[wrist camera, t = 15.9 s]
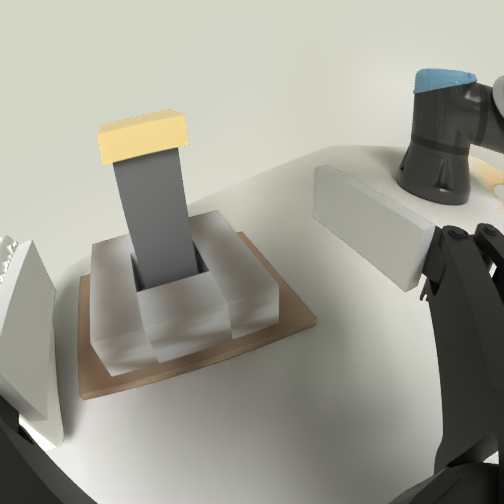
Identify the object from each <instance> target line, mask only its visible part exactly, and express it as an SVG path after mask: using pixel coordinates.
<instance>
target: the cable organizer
mask: <svg viewBox="0 0 504 504" xmlns="http://www.w3.org/2000/svg"><path fill="white" fill-rule="evenodd" d="M18 245H19V244H18V243H17V242H14V241H13V240H12V239H11V238H10V237H9V236H4V237H1V238H0V287H1V284H2V281H3V279H4V276H5V274H6V271H7V269H8V267H9V264H10V262H11V260H12V257H13V255H14V253H15V251H16V249H17V246H18ZM47 414H48V420H43V421H37V422H29V421H28V420H26V419H25V418H24V417H23V416H22V415H21V414H19V424H20V425H22V426H23V427H24V428H25V429H26V430H27V431H28V433H29V434H30V435H31V436H32V438H33V439H34V440H35V441H36V442H37V444H38V445H39V446H40V447H41V448H42V449H43V451H45V450H50V449H54V448H59V447H61V446H62V444H63V438H64V433H63V425H62V419H61V412H60V404H59V396H58V387H57V375H56V361H55V336H54V328H53V323H52V325H51V335H50V346H49V360H48V383H47Z"/></svg>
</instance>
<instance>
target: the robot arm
mask: <svg viewBox="0 0 504 504" xmlns="http://www.w3.org/2000/svg"><path fill="white" fill-rule="evenodd" d="M476 82H477V79H476V76H475V75H474V74H472V73H467V72H462V71H455V70H446V69H421V70H420V71H418V72H417V74H416V78H415V89H414V91H413V93H415V97H414V112H413V123H412V134H411V142H410V145H409V147H408V150H407V152H406V154H405V156H404V158H403V160H402V163H401V165H400V167H399V169H398V176H397V182H398V183H399V185H400V186H401V187H403V188H404V189H405V190H407V191H409V192H410V193H412V194H415V195H417V196H419V197H422V198H424V199H427V200H430V201H434V202H438V203H443V204H450V205H460V204H464V203H466V202H467V201H468V199H469V194H470V189H471V187H470V174H469V164H468V155H469V149H470V144H474V145H477V146H481V147H484V148H487V149H490V150H493V151H496V152H499V153H502V154H504V76H501V77H499V78H498V79H497V80H496V81H495V83H494V85H493V87H490V86H486V85H482V84H479V83H476ZM313 218H314V219H315V220H317V221H318V222H319V223H321V224H322V225H323V226H325V227H326V228H327V229H328V230H330V231H331V232H332V233H334V234H335V235H336V236H337V237H339V238H340V239H341V240H343V241H344V242H345V243H346V244H348V245H349V246H350V247H351V248H353V249H354V250H355V251H356V252H358V253H359V254H360V255H361V256H362V257H364V258H365V259H366V260H367V261H369V262H370V263H371V264H372V265H373V266H375V267H376V268H377V269H378V270H379V271H381V272H382V273H383V274H384V275H385V276H387V277H388V278H389V279H390V280H391V281H393V282H394V283H395V284H396V285H397V286H398V287H400V288H401V289H402V290H403V291H404V292H405V293H406V292H407V291H409V290H411V289H413V288H415V287H416V286H418V283H419V280H420V277H421V274H422V273H423V274H424V275H425V276H426V277H427V279H426V282H425V284H424V287H423V290H422V293H421V295H420V300H421V301H422V300H423V297H424V295H425V294H427V298H426V301H428V302H429V307H430V312H431V318H432V324H433V329H434V336H435V342H436V349H437V357H438V365H439V374H440V384H441V397H442V414H443V438H442V441H441V443H440V446H439V448H438V450H437V453H436V457H435V465H434V475H433V476H432V477H430V478H428V479H426V480H425V481H423V482H421V483H419V484H417V485H416V486H414V487H412V488H410V489H408V490H406V491H405V492H404V493H402V494H401V495H400V496H398V497H397V498H396V499H394V500H393V501H391V502H390V503H389V504H504V235H503V234H502V233H501V232H500V231H499V230H498V229H496V228H495V227H494V226H493V225H489V224H487V223H486V224H484V223H480V224H478V225H477V228H476V231H475V234H473V235H469V234H468V233H467V232H466V231H465V230H463V229H461V228H459V227H456V226H449V225H447V226H444V227H443V228H442V229H441V228H439V227H438V226H436V225H435V224H433V223H432V222H430V221H429V220H427V219H425V218H424V217H422V216H420V215H419V214H417V213H415V212H414V211H412V210H410V209H409V208H407V207H405V206H404V205H402V204H400V203H398V202H397V201H395V200H393V199H391V198H390V197H388V196H386V195H384V194H382V193H381V192H379V191H377V190H375V189H373V188H371V187H370V186H368V185H366V184H364V183H362V182H360V181H358V180H356V179H354V178H352V177H350V176H348V175H347V174H345V173H343V172H341V171H339V170H337V169H334V168H332V167H330V166H328V165H326V166H319V167H315V183H314V209H313ZM493 262H494V264H495V265H496V266H497V268H496V270H495V273H494V275H493V277H492V278H491V276H490V273H489V271H490V269H491V267H492V264H493ZM55 296H56V289H55V287H54V285H53V283H52V281H51V279H50V277H49V276H48V273H47V271H46V269H45V267H44V265H43V263H42V260H41V258H40V256H39V254H38V251H37V249H36V247H35V244H34V242H33V240H30V241H27V242H24V243H21V244H19V245H18V246H17V249H16V251H15V253H14V255H13V257H12V260H11V262H10V264H9V267H8V269H7V271H6V274H5V276H4V279H3V281H2V284H1V287H0V504H97V503H96V502H95V501H94V500H93V499H92V498H90V497H89V496H88V495H87V494H86V493H85V492H84V491H83V490H82V489H80V488H79V487H78V486H77V485H76V484H75V483H74V482H73V481H72V480H71V479H70V478H69V477H68V476H67V475H66V474H65V473H64V472H63V471H62V470H61V469H60V468H59V467H58V466H57V465H56V464H55V463H54V462H53V461H52V460H51V458H50V457H49V456H48V455H47V454H46V453H45V452H44V451H43V449H42V448H41V447H40V446H39V445H38V444H37V442H36V441H35V440H34V439H33V438H32V436H31V435H30V434H29V433H28V431H27V430H26V429H25V428H24V427H23V426H22V425H20V424H19V414H21V415H22V416H23V417H24V418H25V419H26V420H28V421H29V422H37V421H43V420H48V414H47V383H48V360H49V346H50V335H51V325H52V317H53V309H54V302H55ZM497 451H498V455H499V464H492V463H483V461H484V460H485V459H486V458H488V457H489V456H491V455H492V454H494V453H495V452H497Z"/></svg>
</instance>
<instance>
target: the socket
mask: <svg viewBox="0 0 504 504" xmlns="http://www.w3.org/2000/svg"><path fill="white" fill-rule="evenodd" d="M189 224H190V230H191V236H192V241H193V247H194V252H195V258H196V263H197V269H198V275H195V276H191V277H188V278H185V279H181V280H178V281H174V282H171V283H167V284H164V285H161V286H157V287H154V288H150V289H147V288H146V285H145V282H144V279H143V276H142V273H141V270H140V266H139V263H138V260H137V257H136V253H135V250H134V247H133V243H132V240H131V236H130V234H127V235H123V236H119V237H116V238H113V239H109V240H105V241H102V242H99V243H96V244H93V245H92V257H91V274H89V275H85V276H82V277H80V289H79V306H78V379H79V395H80V396H81V397H82V398H83V399H84V400H86V399H91V398H95V397H99V396H104V395H108V394H112V393H116V392H120V391H124V390H128V389H131V388H135V387H139V386H142V385H146V384H150V383H153V382H157V381H160V380H164V379H167V378H170V377H174V376H177V375H180V374H183V373H186V372H190V371H193V370H196V369H199V368H202V367H205V366H208V365H211V364H214V363H217V362H220V361H223V360H226V359H228V358H231V357H234V356H237V355H240V354H242V353H245V352H248V351H250V350H253V349H256V348H258V347H261V346H264V345H266V344H269V343H271V342H274V341H277V340H279V339H282V338H284V337H287V336H289V335H292V334H294V333H296V332H299V331H301V330H304V329H306V328H308V327H311V326H313V325H315V324H316V317H315V316H314V315H313V313H312V312H311V311H310V310H309V309H308V308H307V306H306V305H305V304H304V303H303V302H302V301H301V299H300V298H299V297H298V296H297V295H296V294H295V292H294V291H293V290H292V289H291V288H290V287H289V285H288V284H287V283H286V282H285V281H284V280H283V278H282V277H281V276H280V275H279V274H278V273H277V271H276V270H275V269H274V268H273V267H272V266H271V264H270V263H269V262H268V261H267V260H266V259H265V258H264V256H263V255H262V254H261V253H260V252H259V251H258V249H257V248H256V247H255V246H254V245H253V244H252V242H251V241H250V240H249V239H248V238H247V237H246V235H245V234H244V233H243V232H238V233H236V232H235V231H234V230H233V229H232V227H231V226H230V225H229V224H228V223H227V221H226V220H225V219H224V218H223V216H222V215H221V214H220V213H219V212H218V210H217V211H213V212H209V213H205V214H201V215H197V216H193V217H189Z"/></svg>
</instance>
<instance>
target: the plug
mask: <svg viewBox="0 0 504 504" xmlns="http://www.w3.org/2000/svg"><path fill="white" fill-rule="evenodd" d="M97 138H98V143H99V148H100V153H101V158H102V163H103V165H106V164H109V163H113V167H114V171H115V176H116V181H117V185H118V189H119V194H120V198H121V202H122V205H123V210H124V213H125V217H126V221H127V225H128V229H129V232H130V236H131V240H132V243H133V247H134V250H135V253H136V257H137V260H138V263H139V266H140V270H141V273H142V276H143V279H144V282H145V285H146V288H147V289H150V288H154V287H157V286H161V285H164V284H167V283H171V282H174V281H178V280H181V279H185V278H188V277H191V276H195V275H198V269H197V263H196V258H195V252H194V247H193V241H192V236H191V230H190V224H189V218H188V212H187V206H186V200H185V193H184V187H183V180H182V173H181V166H180V160H179V152H178V147H180V146H186V145H188V139H187V138H188V137H187V129H186V120H185V115H183V114H181V113H178V112H176V111H173V110H171V109H170V110H165V111H160V112H155V113H150V114H145V115H140V116H136V117H131V118H128V119H123V120H119V121H115V122H111V123H107V124H104V125H102V126H101V128H100V130H99V132H98V134H97Z"/></svg>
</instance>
